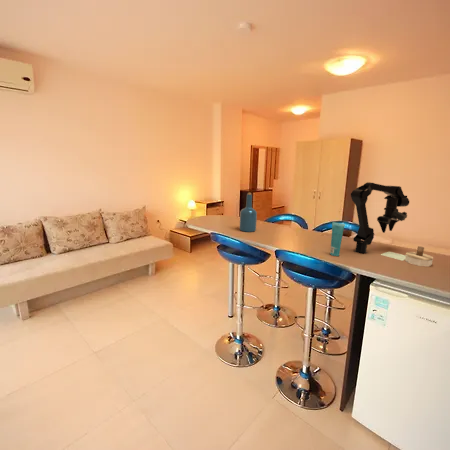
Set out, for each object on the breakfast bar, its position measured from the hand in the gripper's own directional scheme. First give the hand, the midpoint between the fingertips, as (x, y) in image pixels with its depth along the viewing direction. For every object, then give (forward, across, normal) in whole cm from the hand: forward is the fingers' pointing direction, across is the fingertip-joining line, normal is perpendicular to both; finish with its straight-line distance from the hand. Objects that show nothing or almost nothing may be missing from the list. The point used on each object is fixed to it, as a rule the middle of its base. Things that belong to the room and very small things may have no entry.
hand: (387, 231), depth 162 cm
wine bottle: (+13, -40, +85) cm, 95 cm away
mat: (+12, -6, -9) cm, 17 cm away
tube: (+13, -35, +12) cm, 39 cm away
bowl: (+12, -8, -21) cm, 26 cm away
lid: (+8, -8, -21) cm, 24 cm away
